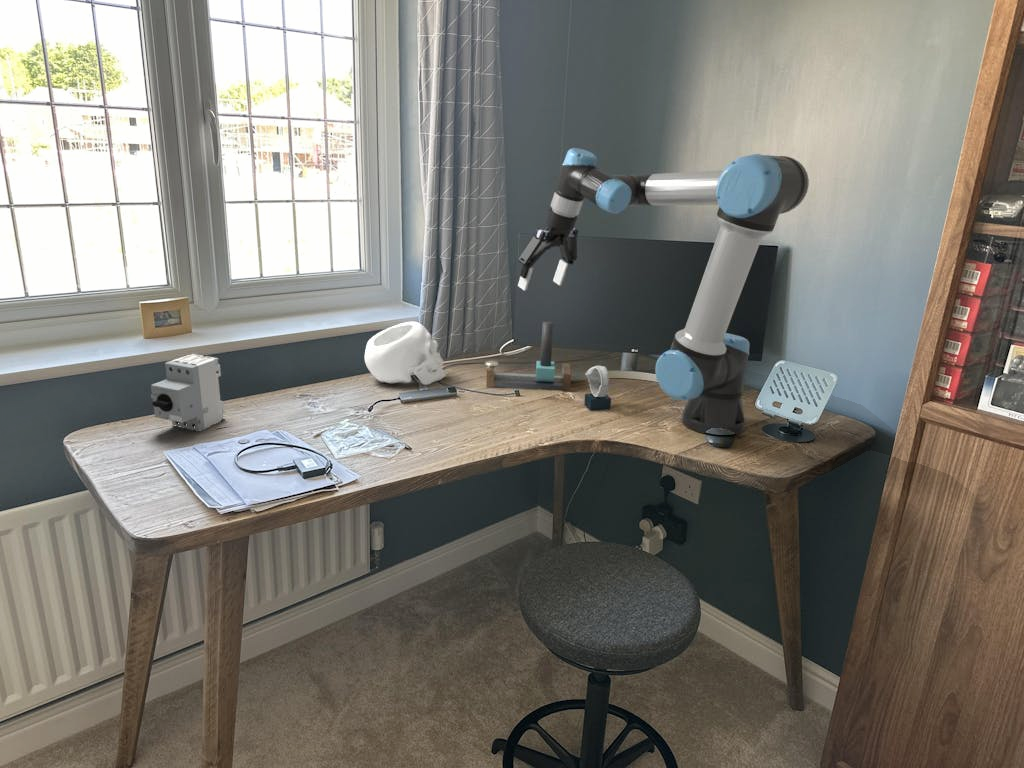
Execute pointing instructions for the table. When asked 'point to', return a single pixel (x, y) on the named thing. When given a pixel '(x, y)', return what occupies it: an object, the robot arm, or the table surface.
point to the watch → (598, 389)
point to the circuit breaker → (189, 392)
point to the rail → (526, 379)
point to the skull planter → (404, 355)
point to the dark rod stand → (546, 355)
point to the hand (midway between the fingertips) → (539, 285)
